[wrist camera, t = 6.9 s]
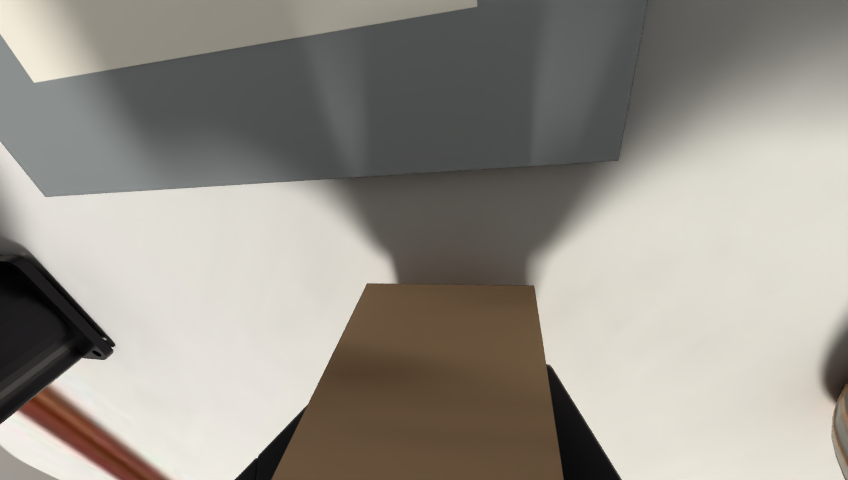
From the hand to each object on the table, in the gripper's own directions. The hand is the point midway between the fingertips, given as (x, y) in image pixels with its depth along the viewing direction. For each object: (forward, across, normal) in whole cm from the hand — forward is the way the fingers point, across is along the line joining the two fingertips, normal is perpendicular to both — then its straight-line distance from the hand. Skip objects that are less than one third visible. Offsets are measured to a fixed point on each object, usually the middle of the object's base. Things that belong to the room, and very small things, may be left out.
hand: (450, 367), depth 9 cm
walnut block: (+1, 0, 0) cm, 1 cm away
